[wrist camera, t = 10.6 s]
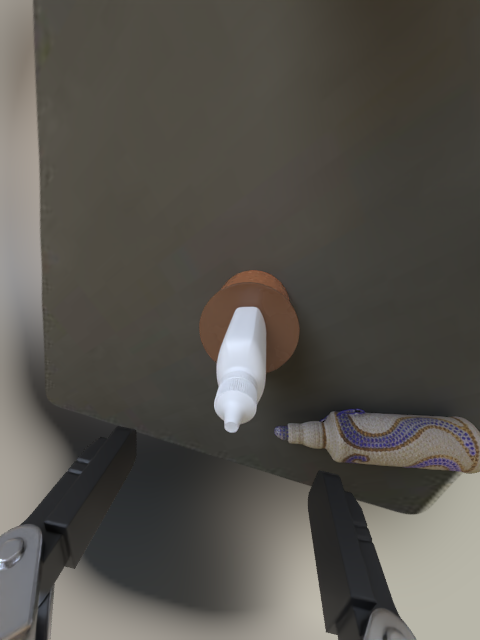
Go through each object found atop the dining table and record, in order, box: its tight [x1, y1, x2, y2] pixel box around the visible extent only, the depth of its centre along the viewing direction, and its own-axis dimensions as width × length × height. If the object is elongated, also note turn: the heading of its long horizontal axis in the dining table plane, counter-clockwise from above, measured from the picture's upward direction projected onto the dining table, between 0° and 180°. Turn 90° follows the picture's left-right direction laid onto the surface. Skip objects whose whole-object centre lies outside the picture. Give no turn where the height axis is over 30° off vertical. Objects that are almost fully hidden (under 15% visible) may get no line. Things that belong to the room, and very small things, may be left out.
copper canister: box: [199, 270, 300, 373], centre depth 27 cm, size 10×10×9 cm
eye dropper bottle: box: [214, 307, 266, 433], centre depth 17 cm, size 4×6×12 cm
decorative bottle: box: [274, 409, 480, 473], centre depth 33 cm, size 26×8×7 cm, turn 92°
